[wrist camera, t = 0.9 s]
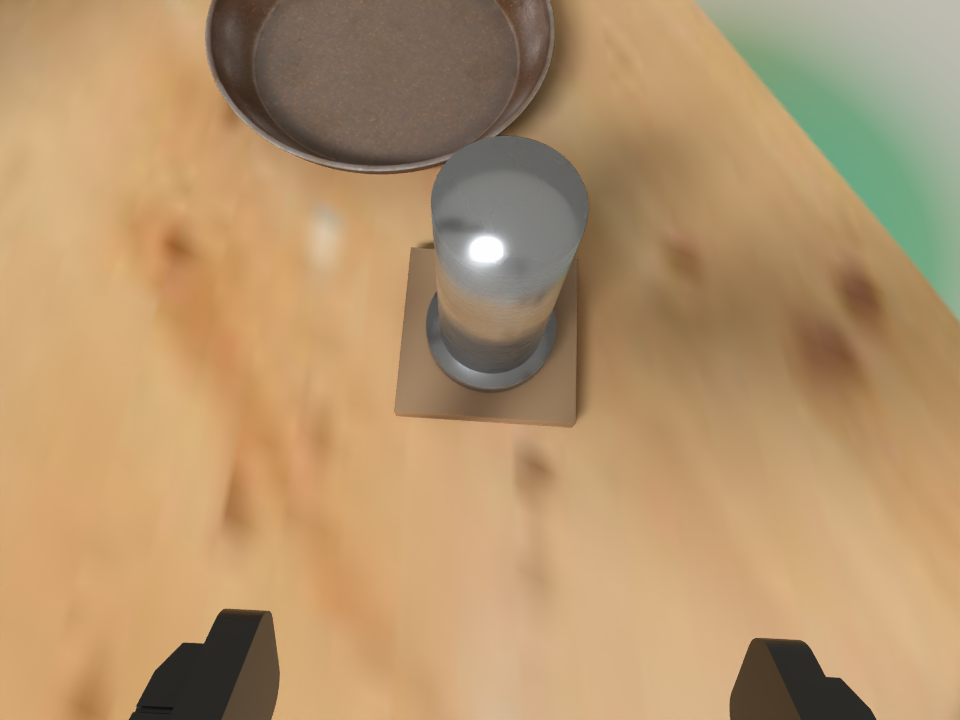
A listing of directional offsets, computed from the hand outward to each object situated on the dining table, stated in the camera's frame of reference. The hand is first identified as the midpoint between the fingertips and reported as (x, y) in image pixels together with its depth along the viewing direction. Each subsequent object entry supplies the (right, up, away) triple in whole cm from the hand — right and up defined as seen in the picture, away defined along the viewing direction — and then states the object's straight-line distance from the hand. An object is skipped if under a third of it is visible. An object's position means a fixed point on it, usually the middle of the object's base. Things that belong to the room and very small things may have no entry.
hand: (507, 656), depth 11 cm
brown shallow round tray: (-6, +21, +24) cm, 33 cm away
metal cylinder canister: (0, +6, +18) cm, 19 cm away
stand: (0, +6, +19) cm, 20 cm away
